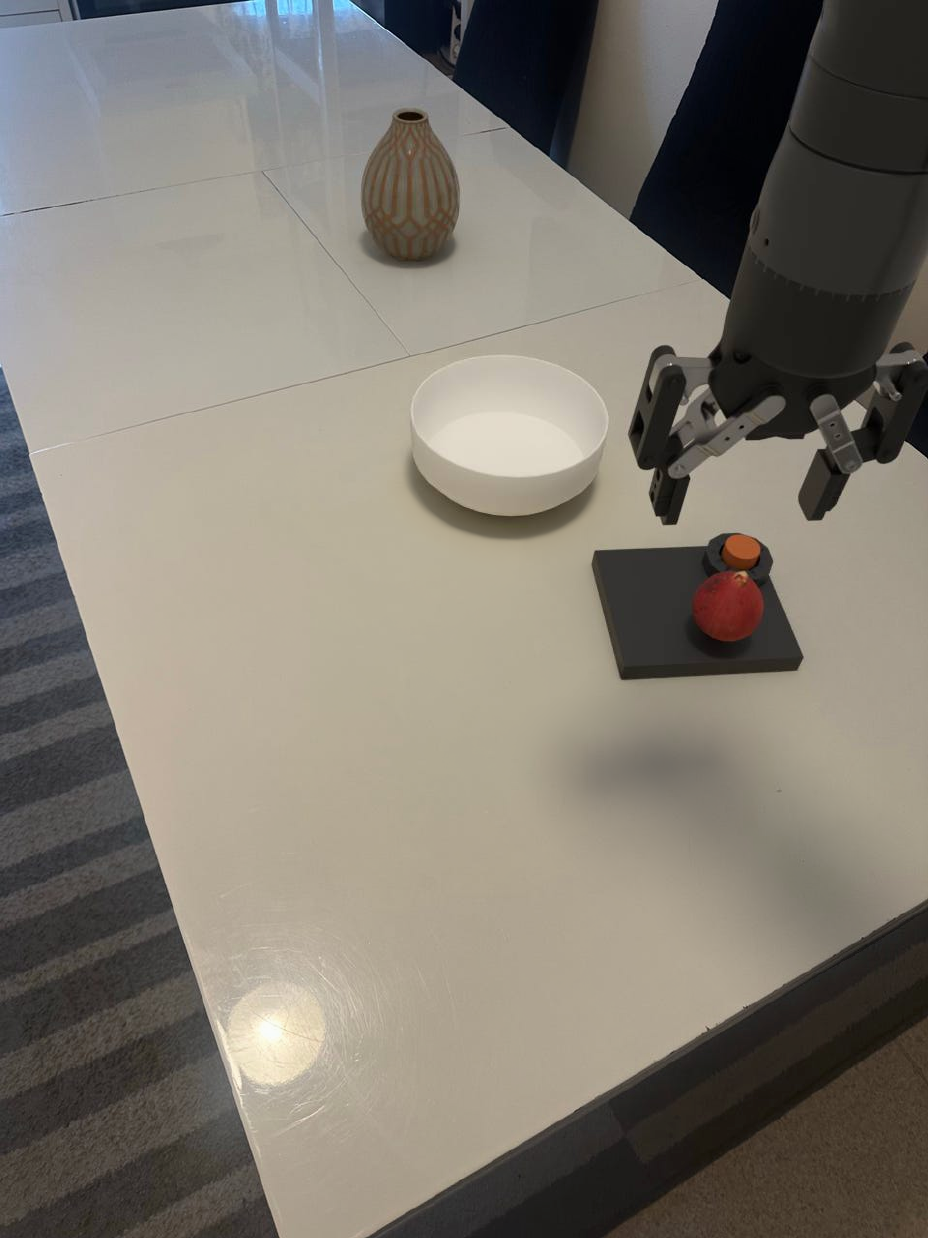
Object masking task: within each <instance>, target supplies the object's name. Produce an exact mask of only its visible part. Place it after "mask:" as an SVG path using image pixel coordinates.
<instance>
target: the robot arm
mask: <svg viewBox="0 0 928 1238" xmlns="http://www.w3.org/2000/svg"><path fill="white" fill-rule="evenodd" d="M822 1H823V2H822V9H821V12H820V16H819V18H818V21H817V24H816V27H815V30H814V33H813V35H812V37H811V40H810V41H811V42H810V44H809V48H808V51H807V54H806V58H805V61H804V64H803V69H802V72H801V75H800V79H799V81H798V85H797V89H796V92H795V97H794V99H793V103H792V106H791V109H790V113H789V117H788V120H787V123H786V126H785V129H784V131H783V135H782V137H781V140H780V142H779V144H778V147H777V148H776V151H775V153H774V156H773V158H772V160H771V162H770V165H769V168H768V170H767V173H766V175H765V179H764V181H763V184H762V187H761V191H760V194H759V199H758V202H757V204H756V205H755V207H754V209H753V211H752V214H751V217H750V222H749V233H748V235H747V239H746V243H745V247H744V250H743V253H742V257H741V261H740V265H739V267H738V271H737V275H736V278H735V282H734V285H733V288H732V292H731V295H730V299H729V302H728V307H727V310H726V313H725V317H724V323H723V329H722V335H721V338H720V340H719V341H718V343H717V344H716V346H715V347H714V348H713V350H712V351H711V352H710V353H709V354H708V355H707V356H706V357H691V356H677V353H676V351H675V349H674V348H673V347H672V346H671V345H669V344H662V345H659V346H657V347H656V348H654V349H653V351H652V352H651V353H650V356H649V357H650V358H649V361H648V363H647V367H646V371H645V374H644V377H643V381H642V383H641V384H642V385H641V388H640V391H639V394H638V398H637V400H636V405H635V407H634V411H633V414H632V418H631V422H630V425H629V428H628V432H627V436H628V439H629V443H630V445H631V448H632V449H631V450H632V452H633V455H634V458H635V461H636V464H637V467H638V468H639V470H642V471H651V470H654V471H653V475H652V478H651V482H650V486H649V490H648V497H649V500H650V503H651V507H652V510H653V513H654V516H655V517H656V518H657V517H658V518H659V519H660V521H661V524H662V526H677V524H678V522H679V519H680V515H681V512H682V509H683V506H684V501H685V499H686V496H687V493H688V489H689V485H690V482H691V476H690V473H691V472H693V471H694V470H695V469H696V468H698V467H699V466H701V464H703V463H704V462H705V461H706V460H708V459H709V458H710V457H715V458H717V457H721V456H722V455H724V454H725V453H726V452H727V451H729V450H730V449H731V448H732V447H734V446H735V445H736V444H737V443H739V442H740V441H741V440H743V439H744V440H745V441H746V442H747V441H762V440H767V439H771V438H780V439H786V440H804V439H805V437H806V435H808V434H811V433H814V432H815V431H817V430H818V431H819V433H820V436H821V437H822V439H823V441H824V443H825V445H826V446H825V448H817V449H816V452H815V454H814V456H813V458H812V461H811V463H810V466H809V468H808V470H807V472H806V475H805V477H804V480H803V482H802V484H801V487H800V489H799V491H798V495H797V502H798V505H799V507H800V509H801V511H802V513H803V515H804V518H805V520H806V521H807V522H814V521H815V522H817V521H818V522H819V521H822V520H823V519H824V517H825V515H826V513H827V512H832V510H833V509H834V508H835V507H836V506H837V504H838V502H839V500H840V497H841V496H842V494H843V491H844V489H845V487H846V486H847V483H848V481H849V479H850V477H851V475H852V474H853V473H856V472H857V471H858V470H859V469H861V468H862V466H863V464H865V463H869V462H872V461H876V462H877V463H878V464H880V465H886V464H887V465H888V464H889V463H892V462H893V461H895V460H896V459H897V458H898V457H899V455H900V453H901V451H902V448H903V446H904V445H905V444H904V443H905V441H906V439H907V437H908V435H909V432H910V430H911V428H912V425H913V423H914V422H915V419H916V417H917V414H918V412H919V409H920V408H921V405H922V403H923V400H924V398H925V396H926V393H927V391H928V364H927V363H926V361H925V360H924V358H923V357H922V356H921V354H920V353H919V351H917V349H916V347H914V345H913V343H911V342H909V341H901V342H899V343H897V344H895V345H894V346H893V347H892V348H891V349H890V351H889V353H885V351H886V349H887V348H888V345H889V342H890V341H891V338H892V336H893V334H894V331H895V329H896V327H897V325H898V323H899V321H900V318H901V316H902V314H903V312H904V309H905V307H906V305H907V303H908V301H909V298H910V296H911V294H912V291H913V289H914V287H915V284H916V282H917V280H918V278H919V276H920V273H921V271H922V269H923V267H924V264H925V262H926V260H927V257H928V0H822ZM704 385H708V387H707V388H706V389H705V390H704V391H703V392H701V393H700V394H699V395H698V396H697V397H696V398H695V399H693V400H692V402H690V398H691V396H692V394H693V393H694V391H695V390H696V389H697V388H699V387H701V386H704ZM872 385H873V386H874V391H873V394H872V396H871V398H870V402H869V404H868V407H867V409H866V412H865V415H864V417H863V419H862V423H861V425H860V428H857V429H853V430H850V427H849V426H848V424H847V421H846V420H845V418H844V415H843V414H842V411H843V410H844V409H845V408H847V407H848V406H849V405H850V404H851V403H853V402H854V401H855V400H856V399H858V398H859V397H861V396H862V395H863V394H864V393H865V392H867V391H868V390H869V389H870V388H871V387H872ZM689 402H690V403H689ZM688 404H689V405H688ZM680 406H682V407H683V406H687V408H686V410H685V415H684V416H683V417H682V418H681V419H679V420H678V421H677V422H676V423H675V424H674V422H675V419H676V415H677V412H678V410H679V407H680ZM719 411H721V413H722V415H723V417H724V418H725V420H724V421H723V422H722V423H721V424H720V425H718V426H717V424H716V421H715V417H716V415H717V413H718V412H719ZM673 424H674V425H673Z"/></svg>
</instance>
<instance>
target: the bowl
mask: <svg viewBox="0 0 928 1238" xmlns="http://www.w3.org/2000/svg"><path fill="white" fill-rule="evenodd" d="M609 429H610V418H609V412H608V409H607V407H606V404H605V401H604V400H603V398H602V397H601V396H600V394H599V392H598V391H597V390H596V389H595V388H594V387H593V386H592V385H591V384H589V382H588V381H586V379H584V378H582V377H581V376H579V375H578V374H576V373H575V372H573V371H571V370H569V369H568V368H565V367H563V366H560V365H558V364H556V363H553V362H551V361H546V360H542V359H540V358H535V357H530V356H529V357H528V356H524V355H516V354H515V355H513V354H490V355H489V354H488V355H487V354H486V355H479V356H475V357H474V356H473V357H468V358H464V359H461V360H457V361H454V362H451V363H449V364H448V365H445V366H443V367H441V368H439V369H437V370H435V372H432V374H430V375H429V376H428V377H426V378H425V379H424V381H422V383H421V384H419V386H418V387H417V389H416V390H415V392H414V394H413V397H412V399H411V400H410V408H409V433H410V443H411V450H412V451H411V452H412V457H413V461H414V464H415V465H416V467H417V469H418V472H419V473H420V474H421V476H422V477H424V479H425V480H426V481H427V482H428V483H429V484H430V485H431V486H432V487H433V488H435V489H436V490H437V491H438V492H440V493H441V494H443V496H446V497H447V498H448V499H449V500H450V501H453V502H455V503H456V504H458V505H460V506H462V507H464V508H467V509H470V510H472V511H475V512H479V513H483V514H487V515H488V514H489V515H493V516H505V517H514V516H515V517H517V516H518V517H519V516H529V515H533V514H534V515H535V514H538V513H539V514H540V513H543V512H545V511H548V510H551V509H553V508H556V507H558V506H559V505H561V504H564V503H566V502H569V501H570V500H571V499H573V498H575V497H576V496H578V495H579V494H581V493H582V492H584V490H585V489H586V488H588V486H589V485H590V484H591V483H592V482H593V480H594V479H595V477H596V475H597V473H598V471H599V468H600V464H601V461H602V458H603V454H604V450H605V447H606V442H607V438H608V433H609Z"/></svg>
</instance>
